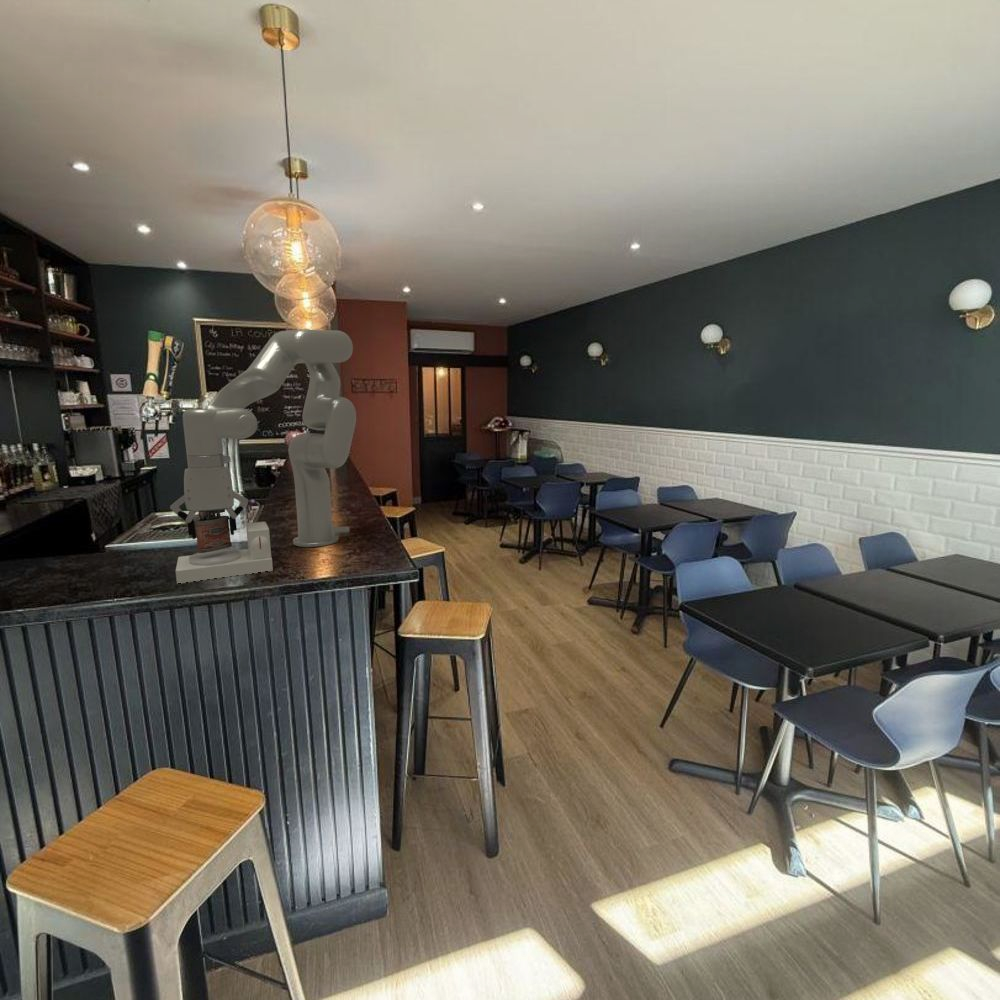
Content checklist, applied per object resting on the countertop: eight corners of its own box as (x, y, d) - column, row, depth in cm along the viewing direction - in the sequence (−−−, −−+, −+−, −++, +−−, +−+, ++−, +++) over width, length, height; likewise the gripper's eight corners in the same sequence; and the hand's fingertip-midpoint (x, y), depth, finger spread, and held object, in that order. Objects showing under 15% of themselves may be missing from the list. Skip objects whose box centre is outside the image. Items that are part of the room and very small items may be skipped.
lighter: (202, 554, 124) (197, 512, 123) (194, 552, 126) (189, 510, 124) (234, 546, 131) (231, 506, 129) (226, 544, 133) (223, 504, 131)
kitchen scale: (267, 557, 141) (264, 520, 139) (272, 570, 129) (269, 530, 128) (179, 568, 131) (175, 529, 130) (177, 584, 120) (172, 540, 118)
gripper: (246, 459, 132) (252, 528, 135) (163, 463, 124) (172, 536, 127) (248, 461, 126) (254, 534, 129) (161, 466, 118) (170, 544, 121)
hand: (213, 535), depth 128 cm, fingers closed on lighter, 7 cm apart
